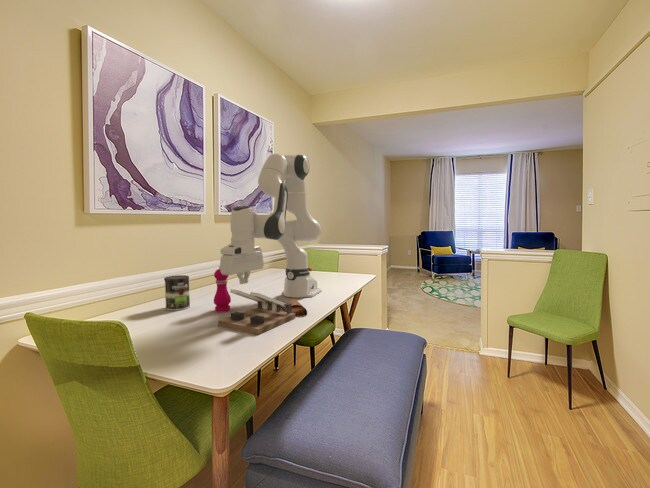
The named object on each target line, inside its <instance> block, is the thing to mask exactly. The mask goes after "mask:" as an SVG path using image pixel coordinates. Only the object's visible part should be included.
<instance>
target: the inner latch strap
mask: <svg viewBox="0 0 650 488" xmlns="http://www.w3.org/2000/svg"><path fill="white" fill-rule="evenodd" d="M229 293H231V294H234V295H237V296H240V297H242V298H245V299H248V300H252V301H254V302H257V303H258V302H260V303H262V304H263V305H264V304H265V305H268V303H267V301H264V300H261V299H259V298H256V297H253V296H250V293H247V292H245V291H242V290H238V289H232V288H230V291H229Z"/></svg>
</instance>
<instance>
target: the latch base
mask: <svg viewBox="0 0 650 488" xmlns="http://www.w3.org/2000/svg"><path fill="white" fill-rule="evenodd" d="M267 303H268V304H267V308H266V307H263V303H260V302H257V306H256V307H253V308H251V309H249V310H248V309H247V310H244V311H242V312H241V311H234V312H230V316H228V317H225V318H221V319H218V320H217V324H218V325H217V326H218V327H223V328H225V329H232V330H235V331H239V332H240V331H241V332H245V333H250V334H254V335H258V336H259V335H261V334H263V333H266V332H268V331H270V330H273V329H274V328H277V327H279V326H281V325H284V324H285V323H288V322H291V321H293V320H295V319H296V316H295V313H292V312H291V303H289V304H287V312H284V311H282V309H281V306H278V305H275V306H276V307H275V309H273V303H270V302H267Z"/></svg>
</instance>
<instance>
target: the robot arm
mask: <svg viewBox="0 0 650 488" xmlns="http://www.w3.org/2000/svg"><path fill="white" fill-rule="evenodd" d="M309 173H310V161H309V158H308V157H307V156H305V155H303V154H284V155H282V154H281V153H273V154H270V155H269V156H268V157H267V159H266V160H265V162H264V164H263V166H262V168H261V170H260V172H259V175H258V179H257V184H258V187H259V189H260V190H261V192H263V193H264V194H265V195H267V196H269V197H272V198H274V205H273V211H272V212H271V213H269V214H257V213H255V212H254V211H253V208H252V206H249V205H240V206H235V207H233V208H232V209H231V213H230V232H231V238H230V243H229V244H227V245H226V246H224V247H222V248H221V249H220V255H221V256H220V260H219V261H220V262H219V263H220V264H219V266H220V268H219V269H220V271H221V273H222V275H229V276H233V275H236V277H237V278H238V280H239V284H240V285H245V284H248V283H249V277H250V275H251V272H252V271H259V270H262V269H264V255H263V253H262V251H263V250H262V248H261V247H260V246H259V245H258V246H256V245H255V239H265V240H266V239H268V240H274V241H277V242H278V243H279V244H280V245H281V247H282V248H283V250H284V253H285V263H286V266H285V267H286V268H285V278H284V284H283V285H284V286H283V290H282V294H283V296H284V297H286V298H287V297H288V298H292V299H293V298H294V299H295V298H299V299H300V298H312V297H315V296H316V295H318V294H320V293H322V288H318V281H317V279H315V278H314V277H313V276H312V275H311V272H313V267H308V265H309V263H308V262H309V261H308V259H309V258H308V252H307V251H306V250H305V249H303V248H301V247H299V246H298V245H297V242H313V241H317V240H319V239H320V237H321V236H322V231H323V230H322V226H321V224H320V223H319V221H317V220H315V218H314V217H313V216H312V215H311V213H310V211H309V208H308V202H307V186H306V185H307V184H306V179H305V178H306V177H307V176H308V174H309ZM287 212H289V213H291V214H293V215H294V216H295V218H296V219H286V218H287V216H286V215H287Z"/></svg>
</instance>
